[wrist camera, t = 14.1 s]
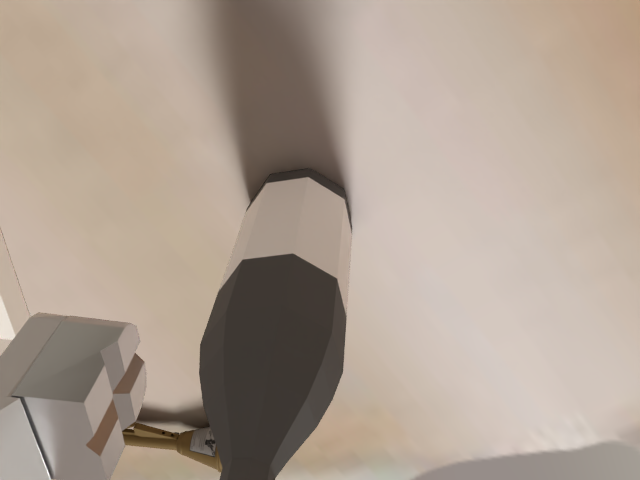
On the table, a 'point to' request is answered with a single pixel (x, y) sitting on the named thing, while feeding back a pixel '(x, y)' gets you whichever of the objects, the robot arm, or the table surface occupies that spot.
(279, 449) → the wine bottle
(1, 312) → the rectangular frame
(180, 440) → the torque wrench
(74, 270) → the table surface
